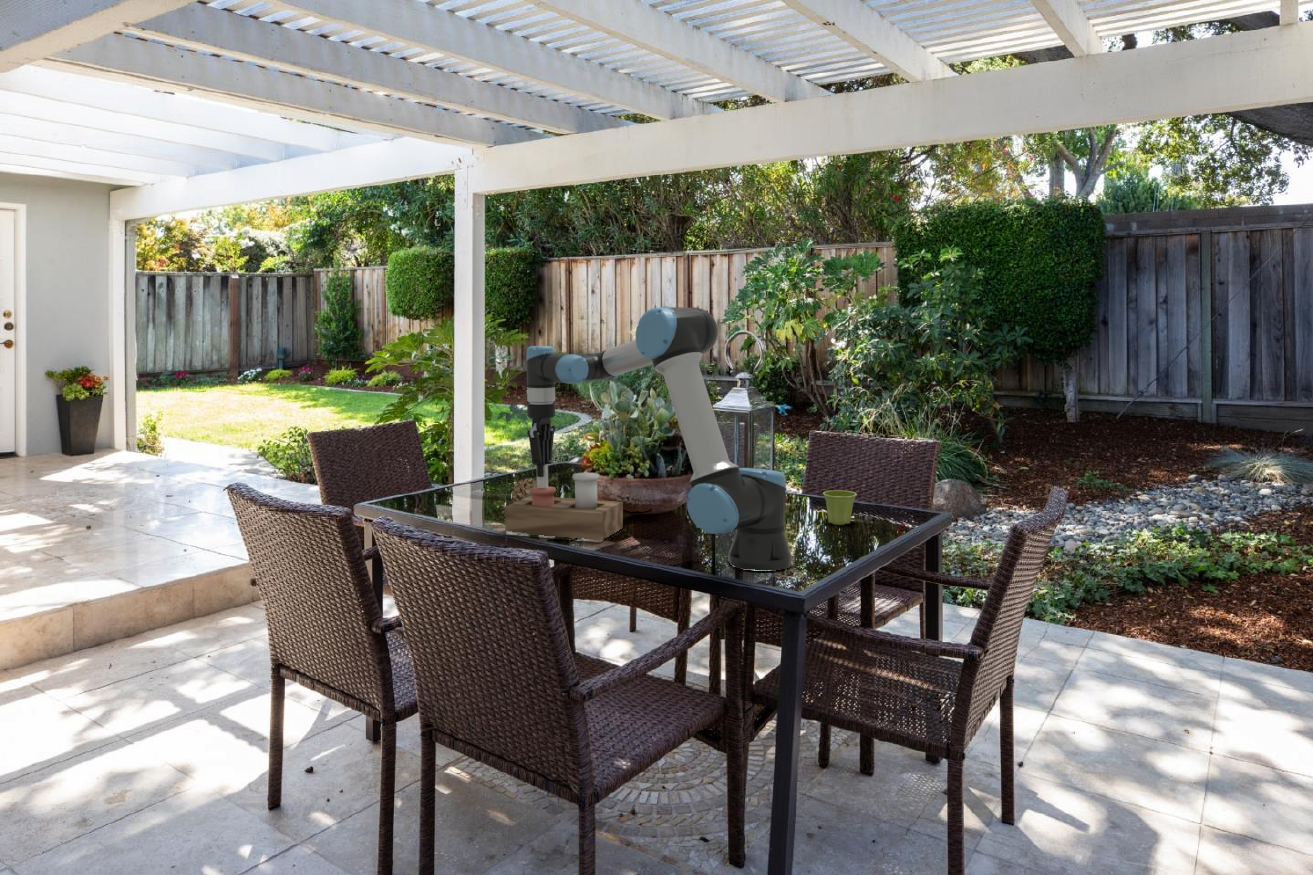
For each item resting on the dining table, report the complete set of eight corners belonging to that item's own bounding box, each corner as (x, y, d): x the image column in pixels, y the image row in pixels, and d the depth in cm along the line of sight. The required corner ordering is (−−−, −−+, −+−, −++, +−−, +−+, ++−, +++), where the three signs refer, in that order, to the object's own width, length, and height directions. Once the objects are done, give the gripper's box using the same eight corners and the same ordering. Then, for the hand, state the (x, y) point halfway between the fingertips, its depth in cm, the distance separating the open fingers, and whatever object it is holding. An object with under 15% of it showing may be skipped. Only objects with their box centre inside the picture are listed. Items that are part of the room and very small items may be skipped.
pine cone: (512, 506, 289) (511, 475, 287) (543, 505, 290) (542, 474, 289) (510, 522, 267) (509, 488, 266) (543, 521, 268) (543, 487, 267)
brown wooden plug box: (601, 543, 242) (600, 513, 241) (505, 535, 251) (504, 506, 250) (622, 529, 257) (622, 501, 256) (532, 522, 266) (531, 495, 265)
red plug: (549, 531, 251) (548, 491, 250) (525, 529, 254) (525, 490, 252) (560, 525, 258) (560, 487, 257) (537, 523, 260) (536, 485, 259)
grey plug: (593, 518, 247) (593, 477, 245) (568, 516, 249) (568, 476, 248) (603, 512, 253) (603, 473, 252) (579, 511, 256) (579, 472, 254)
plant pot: (856, 527, 260) (856, 497, 259) (822, 525, 262) (822, 495, 261) (855, 520, 269) (856, 490, 268) (822, 518, 271) (823, 489, 270)
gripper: (539, 400, 259) (540, 483, 262) (517, 404, 247) (519, 491, 250) (563, 401, 256) (564, 484, 259) (543, 405, 244) (544, 493, 247)
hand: (542, 487), depth 255 cm, fingers closed
